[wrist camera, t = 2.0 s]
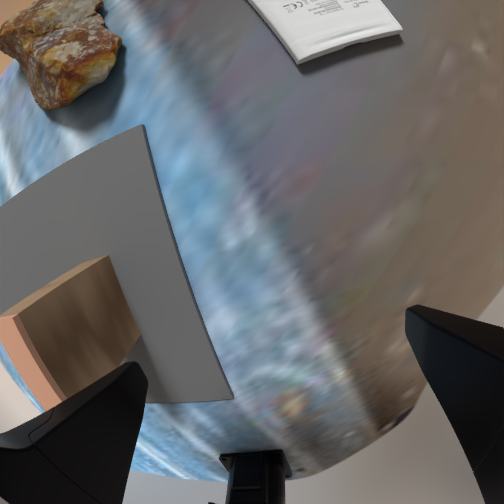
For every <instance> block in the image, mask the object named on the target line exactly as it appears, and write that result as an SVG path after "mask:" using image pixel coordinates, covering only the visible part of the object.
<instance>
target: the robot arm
mask: <svg viewBox="0 0 504 504" xmlns="http://www.w3.org/2000/svg"><path fill="white" fill-rule="evenodd" d="M405 333H406V337H407V339H408V341H409V343H410V345H411V347H412V350H413V352H414V354H415V356H416V359H417V361H418V363H419V366H420V368H421V370H422V372H423V374H424V376H425V378H426V379H427V381H428V383H429V384H430V386H431V388H432V390H433V392H434V393H435V395H436V397H437V399H438V401H439V402H440V404H441V406H442V408H443V410H444V412H445V414H446V416H447V418H448V419H449V421H450V423H451V425H452V427H453V429H454V431H455V433H456V435H457V438H458V440H459V441H460V444H461V446H462V448H463V450H464V452H465V455H466V457H467V459H468V461H469V464H470V466H471V468H472V470H473V471H474V472H473V473H474V476H475V478H476V480H477V483H478V486H479V488H480V491H481V493H482V496H483V499H484V502H485V504H504V329H503V327H500V326H496V325H492V324H488V323H485V322H481V321H477V320H473V319H470V318H466V317H462V316H459V315H455V314H451V313H447V312H444V311H440V310H436V309H433V308H429V307H425V306H422V305H414V306H411V307H408V308H407V309H406V313H405ZM147 391H148V379H147V377H146V375H145V373H144V372H143V370H142V368H141V366H140V365H139V363H138V362H136V361H130V362H125V363H124V364H122V365H121V366H119V367H117V368H116V369H114V370H113V371H111V372H110V373H108V374H106V375H105V376H103V377H102V378H100V379H98V380H97V381H95V382H94V383H92V384H90V385H89V386H87V387H86V388H84V389H82V390H81V391H79V392H77V393H76V394H74V395H72V396H71V397H69V398H68V399H66V400H64V401H63V402H61V403H59V404H58V405H56V406H55V407H53V408H51V409H49V410H48V411H46V412H44V413H42V414H41V415H39V416H37V417H36V418H33V419H31V420H29V421H27V422H25V423H23V424H22V425H20V426H17V427H16V428H13V429H11V430H9V431H7V432H4V433H1V434H0V504H122V502H123V497H124V493H125V487H126V483H127V479H128V475H129V471H130V466H131V462H132V458H133V454H134V450H135V446H136V442H137V439H138V435H139V431H140V427H141V424H142V419H143V414H144V408H145V402H146V396H147ZM219 460H220V461H221V463H222V464H223V465H224V467H225V468H226V469H227V471H228V472H229V479H228V487H227V495H226V503H225V504H285V478H290V477H291V476H292V473H291V470H290V468H289V465H288V463H287V460H286V458H285V455H284V452H283V451H282V450H272V451H263V452H252V453H239V454H221V455H220V456H219ZM208 504H215V503H212V502H209V503H208Z"/></svg>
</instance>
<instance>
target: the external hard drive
mask: <svg viewBox="0 0 504 504" xmlns="http://www.w3.org/2000/svg"><path fill="white" fill-rule="evenodd" d="M247 1H248V2H249V3H250V4H251V5H252V6H253V8H254V9H255V10H256V11H257V12H258V13H259V15H260V16H261V17H262V18H263V20H264V21H265V22H266V23H267V25H268V26H269V27H270V28H271V30H272V31H273V32H274V33H275V35H276V36H277V37H278V39H279V40H280V41H281V43H282V44H283V45H284V47H285V48H286V49H287V51H288V52H289V54H290V55H291V56H292V58H293V59H294V61H295V62H296V64H297V65H299V64H301V63H304V62H306V61H309V60H311V59H314V58H317V57H320V56H322V55H325V54H328V53H331V52H334V51H337V50H340V49H343V48H344V47H346V46H349V45H352V44H356V43H359V42H361V43H364V42H367V41H371V40H375V39H379V38H383V37H388V36H392V35H397V34H399V33H400V32H401V31H403V29H402V27H401V26H400V25H399V23H398V22H397V21H396V19H395V18H394V17H393V16H392V14H391V13H390V12H389V10H388V9H387V8H386V7H385V5H384V4H383V3H382V2H381V1H380V0H247Z"/></svg>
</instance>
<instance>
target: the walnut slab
mask: <svg viewBox="0 0 504 504" xmlns="http://www.w3.org/2000/svg"><path fill="white" fill-rule="evenodd" d="M140 335H141V333H140V331H139V328H138V326H137V324H136V322H135V320H134V317H133V315H132V313H131V311H130V308H129V306H128V304H127V301H126V299H125V296H124V294H123V291H122V289H121V286H120V284H119V281H118V279H117V276H116V274H115V271H114V268H113V265H112V263H111V260H110V257H109V255H106V256H103V257H100V258H96V259H93V260H90V261H87V262H84V263H82V264H80V265H78V266H76V267H75V268H73V269H71V270H70V271H68V272H66V273H65V274H63V275H61V276H60V277H58V278H56V279H55V280H53V281H51V282H50V283H48V284H47V285H45V286H43V287H42V288H40V289H39V290H37V291H36V292H34V293H32V294H31V295H29V296H28V297H26V298H25V299H23V300H22V301H20V302H19V303H17V304H16V305H14V306H13V307H11V308H10V309H8V310H7V311H6V312H4V313H3V314H1V315H0V341H1V342H2V344H3V346H4V348H5V350H6V352H7V354H8V355H9V357H10V359H11V361H12V362H13V364H14V366H15V367H16V369H17V371H18V372H19V374H20V375H21V377H22V378H23V380H24V382H25V383H26V385H27V386H28V388H29V389H30V390H31V392H32V393H33V395H34V396H35V398H36V399H37V400H38V402H39V403H40V404H41V406H42V407H43V408H44V410H45V411H48V410H49V409H51V408H53V407H55V406H56V405H58V404H59V403H61V402H63V401H64V400H66V399H68V398H69V397H71V396H72V395H74V394H76V393H77V392H79V391H81V390H82V389H84V388H86V387H87V386H89V385H90V384H92V383H94V382H95V381H97V380H98V379H100V378H102V377H103V376H105V375H106V374H108V373H110V372H111V371H113V370H114V369H116V368H117V367H119V365H120V364H121V362H122V361H123V359H124V358H125V357H126V355H127V354H128V352H129V351H130V349H131V348H132V346H133V345H134V344H135V342H136V341H137V339H138V338H139V337H140Z"/></svg>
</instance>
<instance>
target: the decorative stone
mask: <svg viewBox="0 0 504 504" xmlns="http://www.w3.org/2000/svg"><path fill="white" fill-rule="evenodd" d="M103 5H104V4H103V0H36V1H34V2H33V3H32V5H31V6H29V7H28V8H27V9H25V10H23V11H21V12H19V13H17V14H16V15H14V16H13V17H11V18H10V19H9V20H7V21H6V22H4V23H3V25H2V26H1V28H0V50H1V51H2V52H3V53H5V54H7V55H9V56H10V57H12V58H15V59H16V60H17V61H18V62H19V64H20V68H21V70H22V71H23V72H24V73H25V76H26V78H27V80H28V84H29V86H30V89H31V92H32V95H33V96H34V99H35V101H36V103H38V104H39V105H40V106H41V107H42V108H43V109H45V110H51V109H54V108H60V107H64V106H67V105H68V104H70V103H71V102H72V101H74V100H75V98H77V97H78V96H80V95H81V94H83V93H84V92H85V91H86V90H88V89H89V88H91V87H93V86H95V85H97V84H100V83H102V82H103V81H104V80H105V79H106V78H107V76H108V74H109V73H110V71H111V69H112V68H113V67H114V65H115V63H116V61H117V58H116V56H117V54H118V49H119V48H120V46H121V44H122V39H121V37H119V36H117V35H116V34H114V33H112V32H110V31H109V30H107V29H106V28H104V19H103V18H102V17H101V15H100V14H98V13H97V12H96V10H97V9H98V8H99V7H102V6H103Z"/></svg>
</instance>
